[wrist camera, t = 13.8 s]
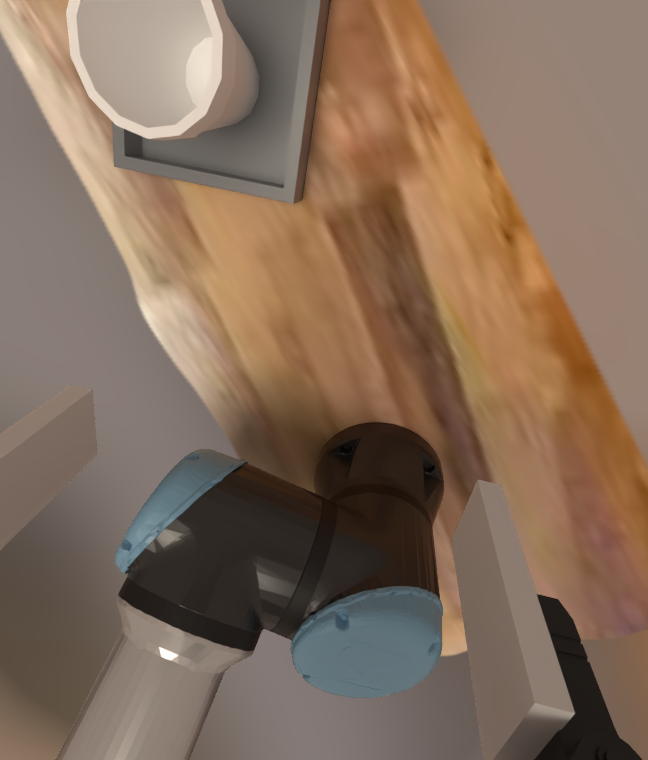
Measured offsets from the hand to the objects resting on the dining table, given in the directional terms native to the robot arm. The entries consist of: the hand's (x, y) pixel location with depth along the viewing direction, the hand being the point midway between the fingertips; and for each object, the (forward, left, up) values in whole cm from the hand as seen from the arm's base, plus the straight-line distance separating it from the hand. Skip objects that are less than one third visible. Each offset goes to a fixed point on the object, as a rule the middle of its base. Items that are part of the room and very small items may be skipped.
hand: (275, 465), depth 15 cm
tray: (+13, +14, -32) cm, 37 cm away
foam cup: (+13, +14, -31) cm, 36 cm away
